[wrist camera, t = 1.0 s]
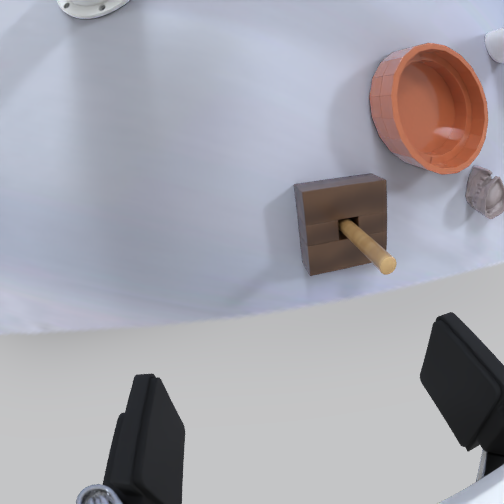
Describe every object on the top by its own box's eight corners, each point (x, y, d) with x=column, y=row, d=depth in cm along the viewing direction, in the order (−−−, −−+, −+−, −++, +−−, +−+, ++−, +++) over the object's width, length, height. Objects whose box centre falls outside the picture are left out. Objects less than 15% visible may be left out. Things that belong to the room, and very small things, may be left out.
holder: (293, 184, 37) (301, 192, 33) (371, 173, 37) (386, 179, 34) (302, 261, 41) (310, 276, 38) (373, 247, 42) (386, 259, 38)
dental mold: (457, 180, 39) (478, 189, 34) (481, 158, 37) (502, 164, 33) (470, 219, 42) (489, 230, 37) (493, 197, 40) (512, 205, 36)
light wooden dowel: (330, 212, 39) (380, 259, 26) (343, 210, 39) (397, 255, 26) (331, 225, 40) (379, 276, 27) (344, 223, 40) (396, 272, 27)
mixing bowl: (358, 45, 30) (381, 36, 25) (453, 56, 31) (480, 53, 25) (374, 170, 37) (397, 179, 32) (462, 162, 38) (488, 170, 32)
